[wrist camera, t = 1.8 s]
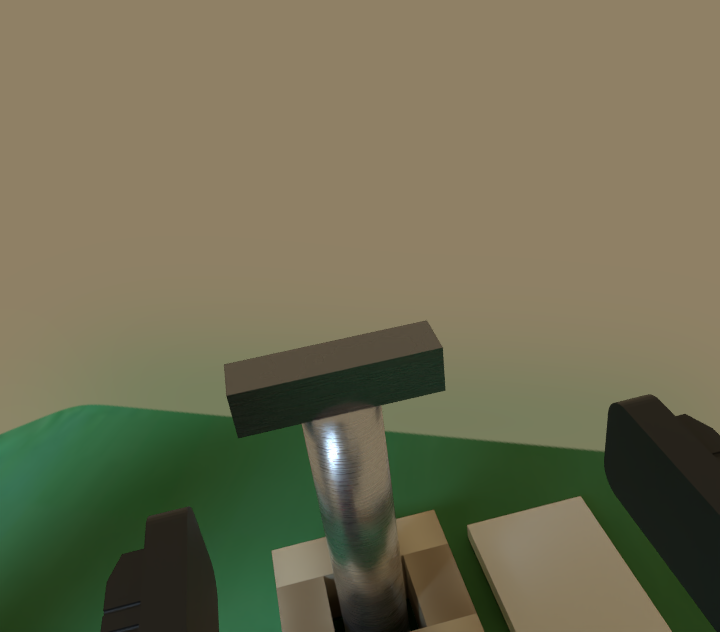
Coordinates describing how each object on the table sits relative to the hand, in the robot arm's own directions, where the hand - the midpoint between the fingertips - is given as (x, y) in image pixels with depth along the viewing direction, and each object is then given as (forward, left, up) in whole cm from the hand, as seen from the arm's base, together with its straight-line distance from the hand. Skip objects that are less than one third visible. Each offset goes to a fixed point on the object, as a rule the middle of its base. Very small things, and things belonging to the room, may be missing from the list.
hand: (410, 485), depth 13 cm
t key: (0, +12, -23) cm, 26 cm away
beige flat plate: (+10, +12, -23) cm, 28 cm away
